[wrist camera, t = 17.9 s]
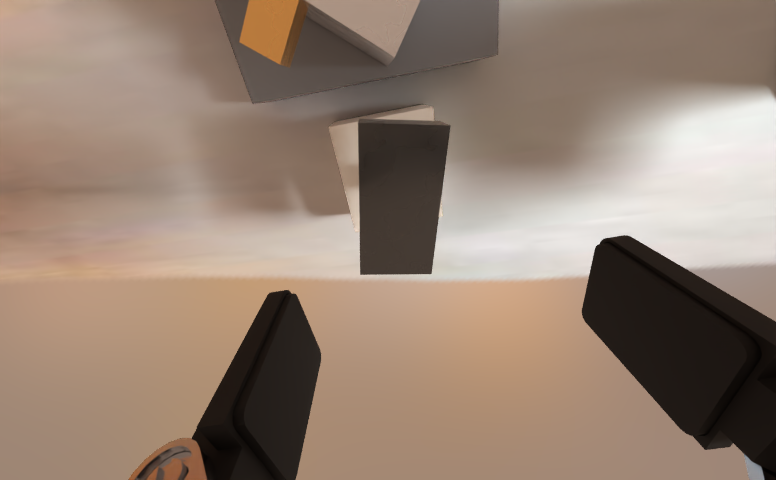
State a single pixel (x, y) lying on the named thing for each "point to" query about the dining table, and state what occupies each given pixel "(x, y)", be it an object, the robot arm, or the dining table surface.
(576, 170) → the dining table surface
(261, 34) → the chuck
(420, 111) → the key stand
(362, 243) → the block
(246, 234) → the dining table surface
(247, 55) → the grey flat slab
